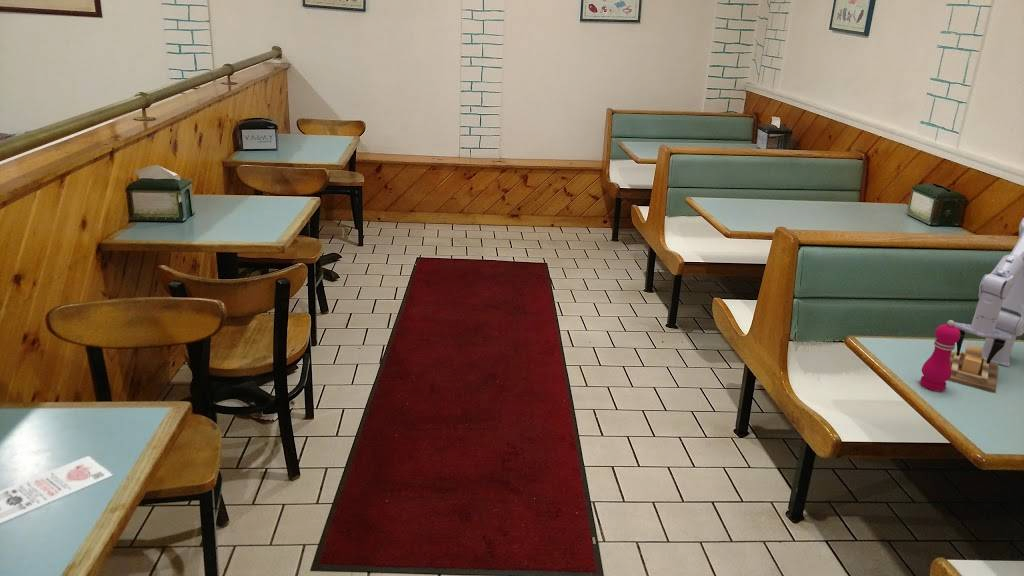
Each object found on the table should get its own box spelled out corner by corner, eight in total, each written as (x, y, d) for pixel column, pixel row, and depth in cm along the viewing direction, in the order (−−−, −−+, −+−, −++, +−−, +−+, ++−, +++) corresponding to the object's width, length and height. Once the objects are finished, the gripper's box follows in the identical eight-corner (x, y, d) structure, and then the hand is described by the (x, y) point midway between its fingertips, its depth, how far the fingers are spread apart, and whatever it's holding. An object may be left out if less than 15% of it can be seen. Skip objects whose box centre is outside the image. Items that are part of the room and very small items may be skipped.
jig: (944, 353, 232) (946, 345, 231) (997, 366, 225) (999, 359, 225) (938, 377, 216) (940, 369, 215) (994, 392, 210) (997, 384, 209)
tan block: (962, 359, 226) (967, 344, 224) (978, 363, 224) (983, 348, 223) (960, 374, 217) (965, 358, 215) (976, 378, 215) (981, 363, 213)
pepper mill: (951, 388, 210) (972, 322, 203) (938, 394, 207) (958, 327, 199) (926, 377, 216) (945, 313, 209) (912, 383, 212) (931, 317, 205)
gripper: (956, 313, 215) (943, 356, 220) (1016, 326, 208) (1001, 371, 213) (958, 305, 220) (945, 347, 225) (1016, 318, 213) (1001, 362, 218)
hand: (972, 358), depth 219 cm, fingers open, 7 cm apart
